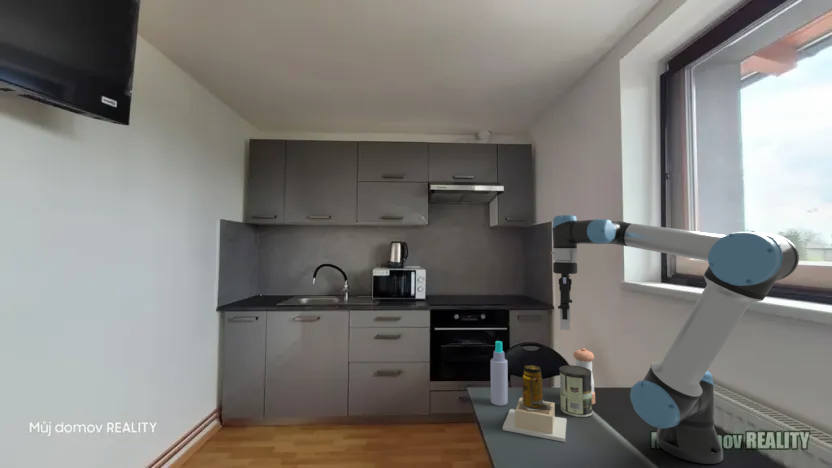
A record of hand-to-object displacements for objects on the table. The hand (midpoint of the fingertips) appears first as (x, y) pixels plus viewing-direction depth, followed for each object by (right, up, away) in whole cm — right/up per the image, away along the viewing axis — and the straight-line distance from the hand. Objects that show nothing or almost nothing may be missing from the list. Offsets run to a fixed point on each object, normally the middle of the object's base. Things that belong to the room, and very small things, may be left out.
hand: (565, 325), depth 125 cm
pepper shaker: (+12, -31, +14) cm, 36 cm away
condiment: (-12, -25, -5) cm, 28 cm away
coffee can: (+6, -31, +5) cm, 32 cm away
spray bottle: (-20, -31, +12) cm, 39 cm away
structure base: (-12, -30, -6) cm, 33 cm away
